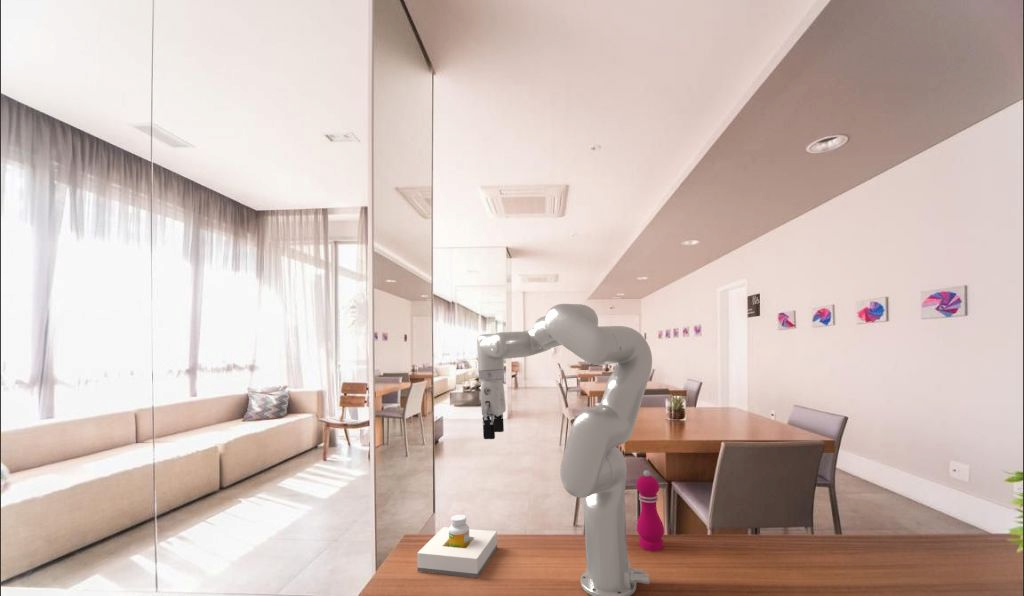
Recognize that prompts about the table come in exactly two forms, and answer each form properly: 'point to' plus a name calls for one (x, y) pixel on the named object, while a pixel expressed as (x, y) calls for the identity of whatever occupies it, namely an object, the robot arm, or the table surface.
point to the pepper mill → (649, 514)
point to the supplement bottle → (458, 532)
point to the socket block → (457, 554)
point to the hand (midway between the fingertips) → (494, 435)
